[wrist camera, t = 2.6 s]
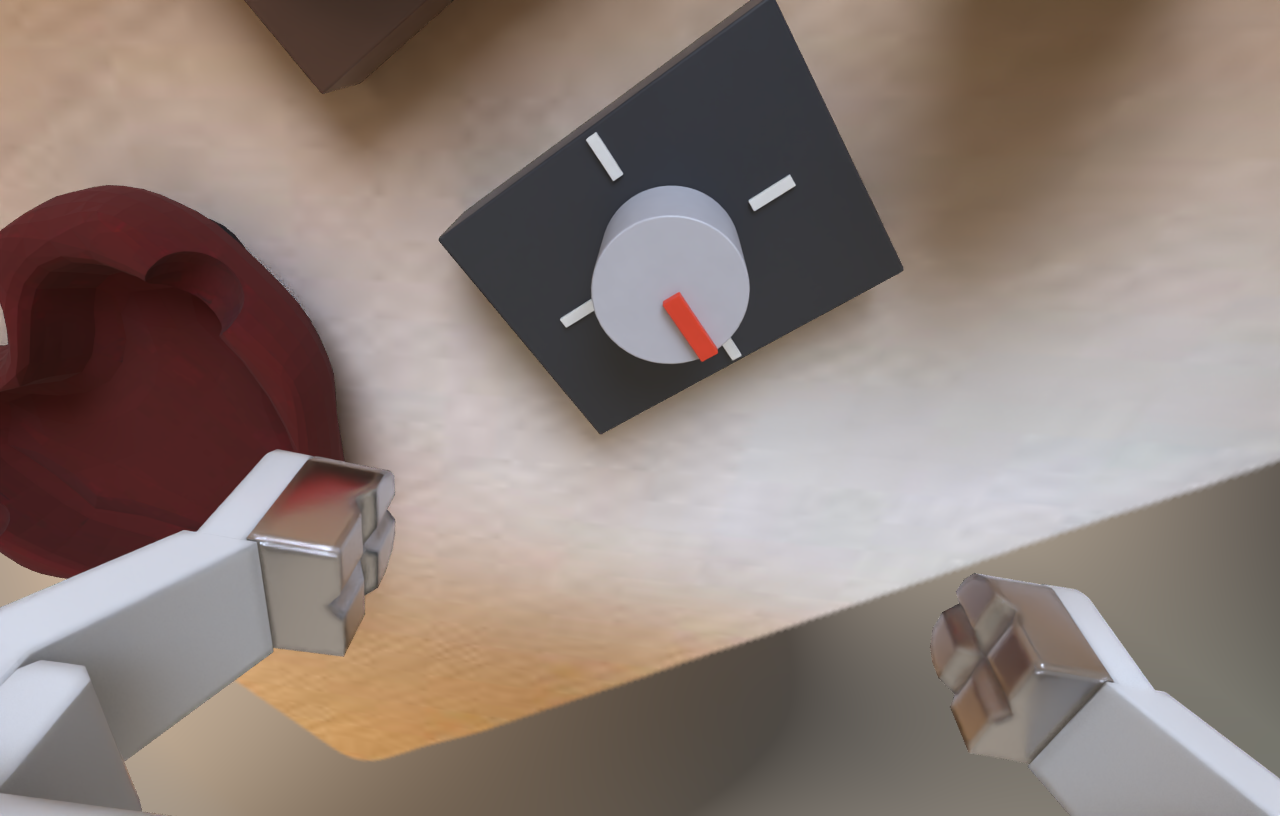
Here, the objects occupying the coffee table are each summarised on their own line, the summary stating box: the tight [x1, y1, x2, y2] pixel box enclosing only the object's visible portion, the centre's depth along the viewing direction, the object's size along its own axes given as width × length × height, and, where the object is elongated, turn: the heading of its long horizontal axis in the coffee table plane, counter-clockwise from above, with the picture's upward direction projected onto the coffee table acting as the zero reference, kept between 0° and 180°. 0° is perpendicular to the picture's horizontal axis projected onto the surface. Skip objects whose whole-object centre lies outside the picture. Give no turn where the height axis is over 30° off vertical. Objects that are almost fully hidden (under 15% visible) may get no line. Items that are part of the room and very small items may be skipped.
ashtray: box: [0, 185, 345, 579], centre depth 26 cm, size 18×16×5 cm
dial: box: [591, 186, 750, 364], centre depth 19 cm, size 4×4×4 cm
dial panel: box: [439, 0, 903, 434], centre depth 22 cm, size 12×9×3 cm
